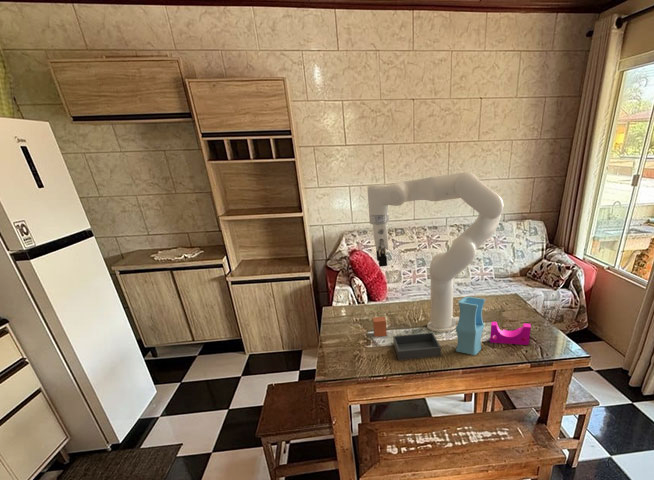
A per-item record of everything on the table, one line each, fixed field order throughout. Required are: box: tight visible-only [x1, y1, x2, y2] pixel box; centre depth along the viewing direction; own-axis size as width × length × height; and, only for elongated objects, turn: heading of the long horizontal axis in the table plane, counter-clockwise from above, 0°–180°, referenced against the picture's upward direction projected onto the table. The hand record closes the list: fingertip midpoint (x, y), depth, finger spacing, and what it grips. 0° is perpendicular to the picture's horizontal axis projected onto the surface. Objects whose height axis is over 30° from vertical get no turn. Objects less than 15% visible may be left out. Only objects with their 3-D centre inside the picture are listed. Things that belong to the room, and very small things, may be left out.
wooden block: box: [372, 316, 388, 338], centre depth 173 cm, size 5×5×7 cm
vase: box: [455, 296, 486, 356], centre depth 153 cm, size 8×8×20 cm
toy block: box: [489, 321, 532, 346], centre depth 163 cm, size 15×6×8 cm, turn 76°
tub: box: [392, 332, 442, 361], centre depth 158 cm, size 16×14×4 cm
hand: (381, 263), depth 168 cm, fingers open, 9 cm apart
